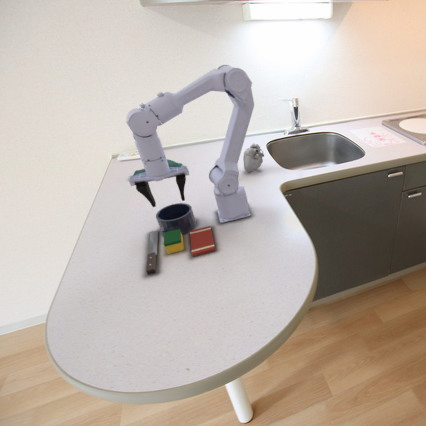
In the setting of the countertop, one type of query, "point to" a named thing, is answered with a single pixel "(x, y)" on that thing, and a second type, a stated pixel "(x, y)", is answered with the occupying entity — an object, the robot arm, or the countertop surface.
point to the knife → (152, 253)
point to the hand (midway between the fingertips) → (169, 202)
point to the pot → (176, 218)
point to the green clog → (170, 163)
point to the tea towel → (202, 241)
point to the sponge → (173, 241)
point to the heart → (253, 158)
